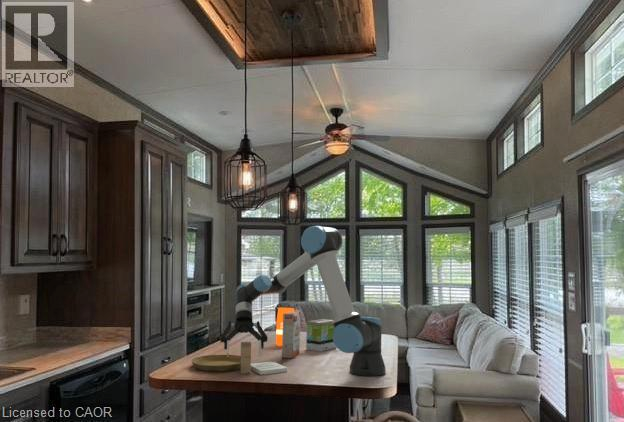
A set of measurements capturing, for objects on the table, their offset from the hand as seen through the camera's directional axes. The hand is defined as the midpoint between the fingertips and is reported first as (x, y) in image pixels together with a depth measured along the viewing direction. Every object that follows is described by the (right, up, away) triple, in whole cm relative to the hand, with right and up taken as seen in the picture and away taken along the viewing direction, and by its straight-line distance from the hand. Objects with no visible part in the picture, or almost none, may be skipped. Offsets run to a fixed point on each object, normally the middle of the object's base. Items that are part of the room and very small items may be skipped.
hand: (244, 355), depth 206 cm
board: (+9, -7, +3) cm, 12 cm away
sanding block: (+1, -7, -2) cm, 7 cm away
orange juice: (+14, -13, +63) cm, 66 cm away
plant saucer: (-12, -8, +8) cm, 17 cm away
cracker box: (+18, -10, +34) cm, 40 cm away
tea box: (+34, -12, +53) cm, 64 cm away
